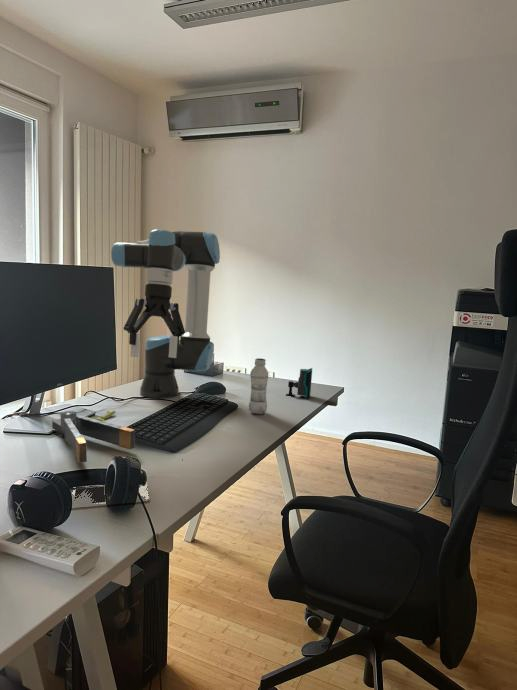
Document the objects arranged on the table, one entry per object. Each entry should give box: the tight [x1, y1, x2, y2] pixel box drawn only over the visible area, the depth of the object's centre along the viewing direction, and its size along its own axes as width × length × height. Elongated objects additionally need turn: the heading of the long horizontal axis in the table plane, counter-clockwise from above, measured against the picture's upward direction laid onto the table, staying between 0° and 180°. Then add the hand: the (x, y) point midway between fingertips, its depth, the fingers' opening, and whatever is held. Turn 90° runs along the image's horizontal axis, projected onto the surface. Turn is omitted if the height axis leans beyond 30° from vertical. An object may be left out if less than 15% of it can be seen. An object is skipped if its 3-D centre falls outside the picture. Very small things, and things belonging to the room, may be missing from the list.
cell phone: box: [72, 482, 150, 504], centre depth 107 cm, size 9×18×1 cm, turn 107°
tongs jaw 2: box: [76, 415, 136, 450], centre depth 135 cm, size 21×2×5 cm, turn 62°
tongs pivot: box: [51, 410, 78, 440], centre depth 143 cm, size 10×4×7 cm, turn 47°
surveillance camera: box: [285, 367, 313, 399], centre depth 196 cm, size 6×12×10 cm
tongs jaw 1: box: [64, 418, 88, 464], centre depth 129 cm, size 21×2×5 cm, turn 32°
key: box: [91, 410, 116, 422], centre depth 157 cm, size 7×12×2 cm, turn 177°
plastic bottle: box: [248, 357, 270, 415], centre depth 171 cm, size 6×7×20 cm
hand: (154, 357), depth 138 cm, fingers open, 13 cm apart
